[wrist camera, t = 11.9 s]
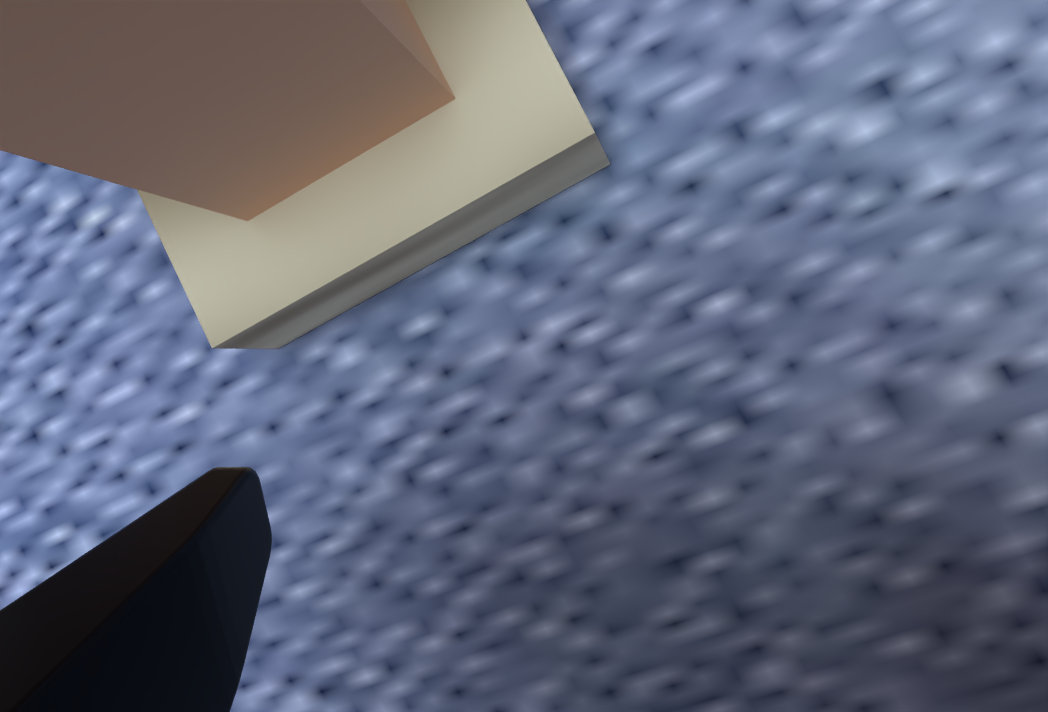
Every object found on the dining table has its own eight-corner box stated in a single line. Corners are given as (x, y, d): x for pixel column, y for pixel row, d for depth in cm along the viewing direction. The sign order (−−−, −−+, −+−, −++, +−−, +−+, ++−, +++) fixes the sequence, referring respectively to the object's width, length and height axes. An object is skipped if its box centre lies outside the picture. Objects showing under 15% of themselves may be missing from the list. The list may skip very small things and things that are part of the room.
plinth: (610, 163, 20) (594, 132, 17) (278, 348, 22) (212, 348, 19) (433, -175, 21) (389, -260, 18) (124, 27, 23) (38, -22, 20)
